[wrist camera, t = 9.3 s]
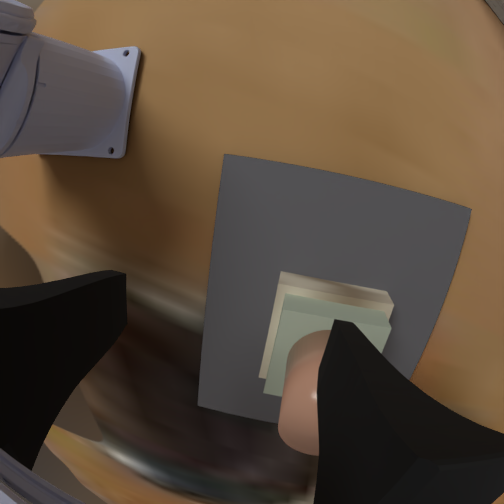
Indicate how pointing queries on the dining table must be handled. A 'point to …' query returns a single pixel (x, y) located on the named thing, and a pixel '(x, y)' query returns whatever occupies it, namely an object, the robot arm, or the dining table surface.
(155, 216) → the dining table surface
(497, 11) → the skincare box
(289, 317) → the sage slab
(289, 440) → the rounded pink dome
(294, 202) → the charcoal mat
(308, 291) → the birch slab
